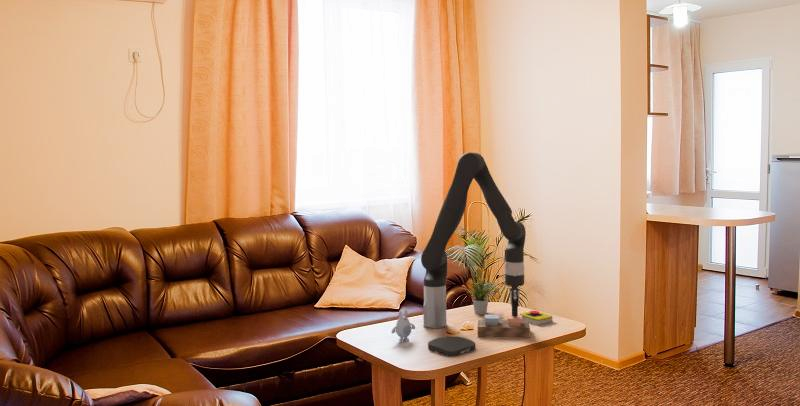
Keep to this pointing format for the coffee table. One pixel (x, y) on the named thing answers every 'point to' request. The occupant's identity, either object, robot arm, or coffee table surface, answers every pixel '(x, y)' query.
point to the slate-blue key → (491, 319)
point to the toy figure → (403, 327)
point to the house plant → (480, 296)
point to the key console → (503, 330)
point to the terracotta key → (514, 320)
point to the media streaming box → (451, 346)
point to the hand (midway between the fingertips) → (514, 316)
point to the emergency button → (537, 318)
